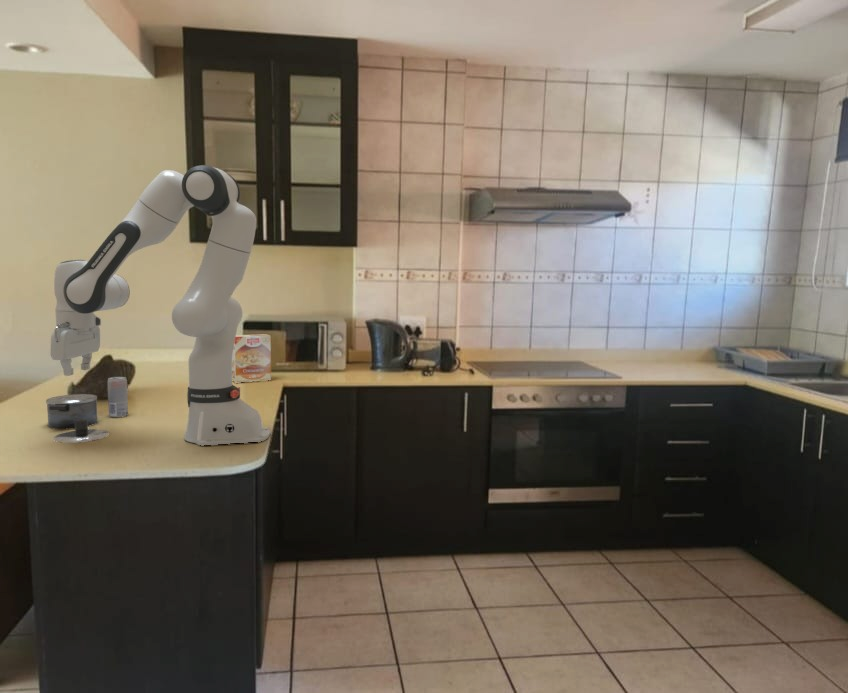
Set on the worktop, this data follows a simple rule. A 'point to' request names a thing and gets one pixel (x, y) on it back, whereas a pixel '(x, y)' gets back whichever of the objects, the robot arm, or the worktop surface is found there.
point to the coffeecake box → (251, 358)
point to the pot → (71, 410)
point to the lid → (81, 433)
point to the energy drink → (117, 396)
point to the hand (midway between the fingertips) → (77, 372)
